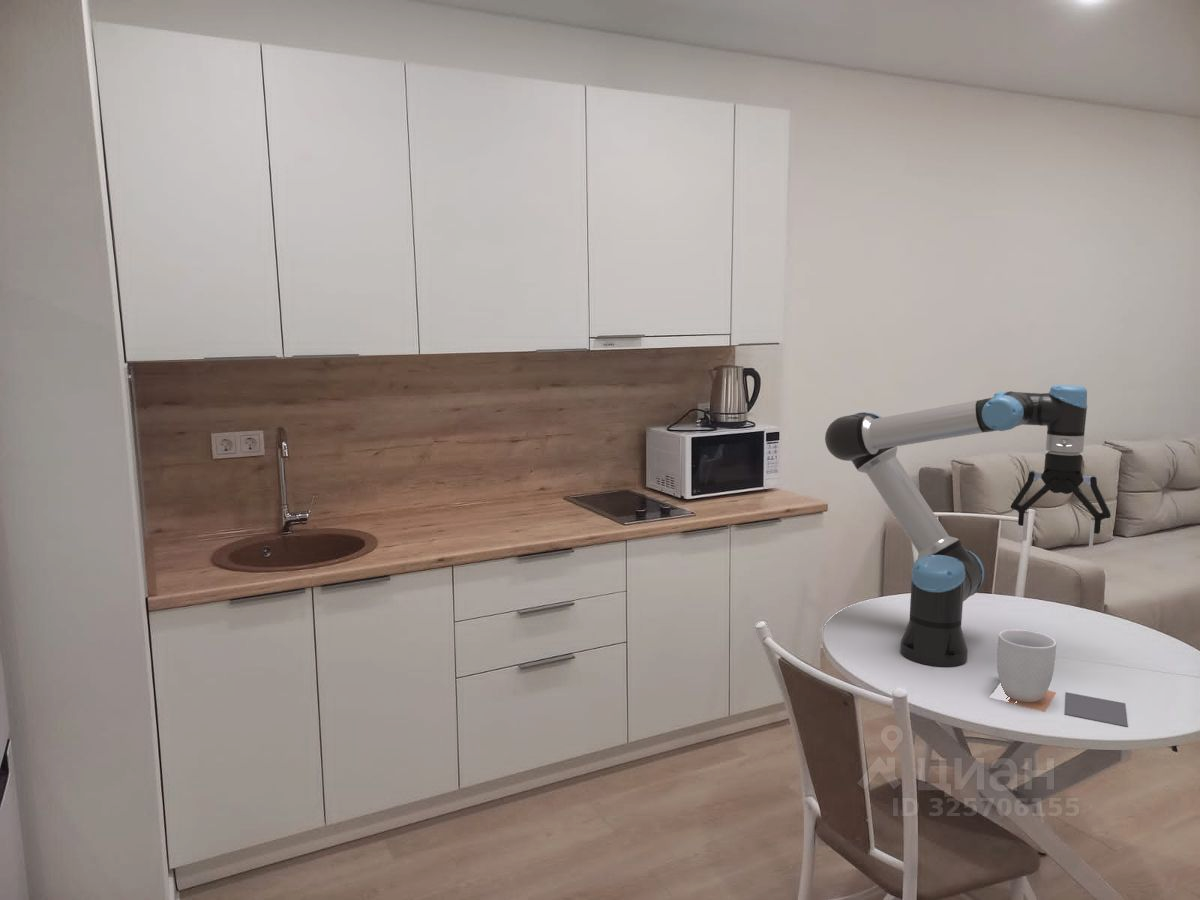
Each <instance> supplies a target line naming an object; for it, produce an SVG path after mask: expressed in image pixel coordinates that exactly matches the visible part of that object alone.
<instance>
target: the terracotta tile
mask: <svg viewBox="0 0 1200 900" xmlns="http://www.w3.org/2000/svg"><path fill="white" fill-rule="evenodd" d="M1056 694H1057V691H1052V690H1047V692H1046V694H1045V695H1044V696H1043V697H1042V698H1041V699H1040V700H1039V701H1037V702H1033V703H1027V702H1020V701H1017V700H1014V699H1011V698H1010V699H1009V700H1008V701H1009V704H1011V703H1012V705H1015V704H1016V705H1017V706H1020V707H1024V708H1029V709H1033V710H1036V711H1040V712H1044V713H1045V712H1046V711H1047V709H1048V708H1049V707H1050V705H1051V702H1052V701H1053V700H1054V698H1055V695H1056ZM1007 698H1008V697H1007ZM1007 698H1006V699H1007ZM1016 701H1017V703H1015V702H1016ZM1014 703H1015V704H1014Z"/></svg>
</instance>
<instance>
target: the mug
mask: <svg viewBox="0 0 1200 900" xmlns="http://www.w3.org/2000/svg"><path fill="white" fill-rule="evenodd" d="M997 640H998V641H997V649H996V668H997V676H998V681H999V682H1000V683H1001V686H1002V688H1003V690H1004V692H1005V694H1006V695H1007V696H1008V697H1010V698H1011V699H1014V700H1017V701H1020V702H1027V703H1033V702H1037V701H1039V700H1040V699H1041V698H1042V697H1043V696H1044V695H1045V694H1046V692H1047V690H1048V689H1049V688H1050V685H1051V683H1052V680H1053V677H1054V671H1055V661H1056V649H1057V648H1056V647H1057V642H1056V640H1055V639H1054V638H1053V637H1051V636H1049V635H1047V634H1044V633H1042V632H1037V631H1033V630H1027V629H1018V628H1017V629H1016V628H1015V629H1011V628H1010V629H1004V630H1001V631H1000V632H999V633H998V639H997Z"/></svg>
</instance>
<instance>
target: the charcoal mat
mask: <svg viewBox="0 0 1200 900" xmlns="http://www.w3.org/2000/svg"><path fill="white" fill-rule="evenodd" d="M1064 695H1065V697H1064V716H1069V717H1073V718H1079V719H1084V720H1088V721H1089V720H1090V721H1093V722H1094V721H1095V722H1099V723H1104V724H1109V725H1114V726H1119V727H1124V728H1129V724H1128V723H1129V722H1128V715H1127V714H1128V713H1127V708H1126V707H1127V706H1126V702H1119V701H1116V700H1110V699H1105V698H1099V697H1093V696H1088V695H1083V694H1077V693H1072V692H1068V691H1065V694H1064Z"/></svg>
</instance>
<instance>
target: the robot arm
mask: <svg viewBox="0 0 1200 900" xmlns="http://www.w3.org/2000/svg"><path fill="white" fill-rule="evenodd" d="M1087 410H1088V390H1087V388H1086V387H1085V386H1082V385H1074V384H1073V385H1070V384H1069V385H1068V384H1066V385H1065V384H1059V385H1058V384H1055V385H1052V386H1051V387H1050V390H1049V392H1045V393H1043V392H1042V393H1037V392H1024V391H1023V392H1022V391H1021V392H1018V391H998V392H995V394H994V395H993V397H989V398H984V399H983V398H982V399H979V400H972V401H967V402H960V403H955V404H951V405H950V404H949V405H944V406H938V407H934V408H928V409H923V410H915V411H911V412H905V413H900V414H895V415H889V416H883V417H882V416H881V415H879V414H877V413H874V412H858V413H855V414H851V415H844V416H840V417H838V418H836V419H834V420H833V421H832V422H831V423H830V425H828V427H827V429H826V431H825V433H824V434H825V436H824V441H825V446H826V448H827V450H828V452H829V453H830V454H831V455H832V456H833V457H835V458H836V459H838V460H840V461H847V462H851V463H852V464H853V466H854V467H855V469H856V470H857V472H860V473H864V474H866V475H867V476H868V478H869V479H870V481H871V482H872V484H873V485H874V486H875V489H876V490H877V492H878V494H879V495H880V496H881V498H882V499H883V501H884V502H885V504H886V506H887V507H888V508H889V510H890V511H891V513H892V514H893V516H894V517H895V519H896V520H897V522H898V524H899V525H900V526H901V528H902V530H903V531H904V533H905V534H906V536H907V537H908V539H909V540H910V542H911V543H912V545H913V546H914V547H915V550H916V551H917V553H918V554H917V559H916V560H915V561H914V562H913V564H912V570H911V574H910V578H911V581H910V582H911V584H910V602H909V604H910V607H909V619H908V620H909V621H908V623H907V626H906V628H905V631H904V633H903V634H902V638H901V639H900V644H899V645H900V650H899V651H900V654H901V655H902V656H904V657H905V658H907V659H908V660H911V661H913V662H916V663H920V664H923V665H928V666H935V667H957V666H961V665H963V664H965V663H966V662H967V661H968V653H969V651H968V647H967V643H966V640H965V636H964V632H963V629H962V622H963V621H962V619H963V607H964V606H963V604H964V602H965V601H966V600H967V599H969V598H970V597H971V596H973V595H975V594H976V593H977V592H978V590H980V587H981V586H982V584H983V582H984V578H985V568H984V566H983V565H984V564H983V562H982V561H981V559H980V558H979V557H978V555H976V554H975V553H974V552H972V551H970V550H968V549H966V548H965V546H964V545H963V544H962V542H961V540H960V539H959V538H957V537H954V536H950V535H949V534H948V532H947V530H946V529H945V528H944V526H943V525H942V523H941V522H940V521H939V519H938V517H937V516H936V514H935V512H934V511H933V510H932V508H931V507H930V505H929V504H928V502H927V501H926V499H925V497H924V496H923V495H922V493H921V492H920V491H919V489H918V488H917V486H916V485H915V483H914V481H913V480H912V478H911V477H910V475H909V474H908V472H907V471H906V470H905V468H904V466H903V465H902V463H901V462H900V460H899V458H898V457H897V452H898V447H901V446H907V445H913V444H914V445H915V444H921V443H927V442H933V441H938V440H944V439H945V440H946V439H950V438H951V439H952V438H957V437H965V436H969V435H970V436H971V435H976V434H983V433H991V432H995V431H996V432H997V431H998V432H1003V431H1004V432H1005V431H1009V430H1012V429H1014V428H1016V427H1019V426H1021V425H1022V426H1023V425H1024V426H1041V427H1043V426H1045V427H1046V428H1047V429H1046V431H1047V432H1046V440H1045V442H1046V443H1045V450H1046V451H1047V452H1045V454H1044V455H1045V456H1044V467H1043V468H1044V469H1043V472H1036V471H1035V470H1030V471H1029V473H1028V477H1027V480H1026V482H1025V484H1024V485H1023V486H1022V487H1021V489H1020V491H1019V492H1018V494H1017V495H1016V497H1014V500H1013V502H1011V505H1010V508H1011V509H1012V510H1015V511H1017V512H1018V517H1017V518H1018V519H1017V524H1018V526H1021V527H1022V538H1021V541H1024V542H1025V541H1026V542H1027V539H1028V538H1027V536H1028V526H1029V525H1028V523H1029V511H1027V510H1028V509H1029V508H1030V507H1031V506H1032V505H1034V504H1035V503H1036V502H1037V501H1038V500H1040V498H1042V497H1043V496H1044V495H1045V494H1046V493H1048V492H1049V491H1050V492H1051V493H1053V494H1060V493H1061V494H1065V495H1069V494H1072V493H1073V494H1074V496H1075V497H1076V498H1077V499H1078V501H1080V503H1081V504H1082V505H1083V506H1084V508H1085V509H1087V511H1088V512H1089V513H1090V514H1091V516H1092V517H1091V518H1090V529H1089V539H1088V540H1089V542H1088V549H1093V547H1094V536H1095V535H1097V534H1098V535H1099V534H1100V532H1101V523H1102V520H1106V519H1110V518H1111V515H1112V514H1111V511H1110V508H1109V507H1108V505H1107V502H1106V501H1105V498H1104V497H1103V494H1102V492H1101V491H1100V489H1099V486H1098V481H1097V478H1098V477H1097V475H1095V474H1094V475H1093V474H1092V475H1089V476H1084V475H1083V474H1082V471H1083V459H1084V458H1083V457H1084V456H1083V455H1082V453H1083V452H1084V447H1085V446H1084V444H1085V430H1086V421H1087V419H1086V418H1087ZM1039 479H1041V480H1042V481H1043V483H1044V485H1043V486H1041V488H1040V489H1039V490H1037V492H1036V493H1034V494H1033V495H1032V496H1030V498H1029V499H1027V501H1025V502H1023V504H1022V505H1021V504H1020V503H1021V502H1022V499H1023V498H1025V495H1026V493H1027V492H1028V491H1029V489H1030V488H1031V486H1032V485H1033V482H1037V481H1038V480H1039ZM1083 482H1085V483H1086V485H1087V486H1089V487H1090V489H1091V491H1092V493H1093V495H1094V497H1095V500H1096V501H1097V503H1098V506H1099V508H1100V509H1101V512H1099V511H1098V509H1097V508H1096V507H1095V505H1093V503H1092V502H1091V501H1090V500H1089V499H1088V498H1087V496H1086V495H1085V494H1084V493H1083V491H1082V490H1081V489H1080V487H1079V486H1081V484H1083Z"/></svg>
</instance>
